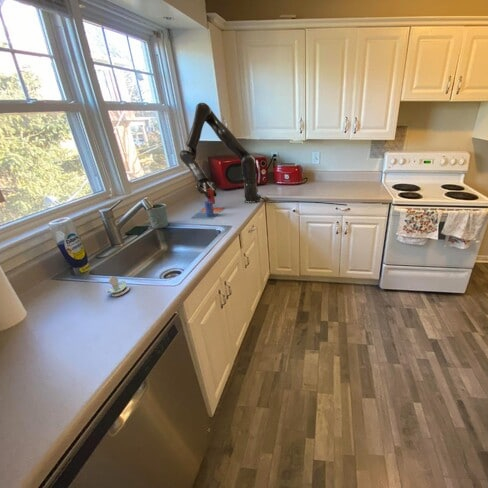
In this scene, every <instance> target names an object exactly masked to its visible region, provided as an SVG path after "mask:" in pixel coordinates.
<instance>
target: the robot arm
mask: <svg viewBox="0 0 488 488" xmlns="http://www.w3.org/2000/svg"><path fill="white" fill-rule="evenodd" d="M192 122H193V123H192V125H191V128H190V130H189V134H188V137H187V139H186V143H185V146H186V147H187V148H188V150H186V149H182V150H180V152H179V159H180V160H181V162H182V163H183V164H184V165H185V166H186V167H187V168H188V169H189V171H190V173H191V175H192V177H193V179H194V180H195V182H196V183H197V184H196V185H195V189H196V190H197V191H198V192H199V193H200V194H204V196H205V198H206V199H207V198H209V197H210V196H209V194H208V192H206V190H214V198H215V197H217V192H216V190H217V186H216V183H215V181H210V180H209V178H208V176H207V175H206V173H205V172H204V171H205V170H203V169H202V167H201V166H200V164H199V162H197V161H196V160H197V151H198V146H199V143H200V140H201V136H202V132H203V128H204V125H205V124H206V123H207V124H208V126H209V127H210V128H211V130H212V131H213V132H214V134H215V135H216V136H217V138H218V139H219V140H220V142H222V144H223V145H224V146H225V147H226V148H227V149H228V150H230V151H231V152H233V153H234V155H236V156H237V158H238V159H239V160H240V161H241V173H242V179H243V192H244V202H245V203H247V204H254V203H257V202H259V201H260V200H263V201H264V202H265V203H268V204H269V203H270V204H273V203H274V204H284V203H285V204H286V203H288V204H290V203H292V204H294V203H301V204H302V203H304V204H305V203H306V204H307V203H308V204H325V205H336V206H348V204H346V203H335V202H324V201H305V200H303V201H301V200H300V201H297V200H295V201H294V200H293V201H292V200H291V201H288V200H287V201H286V200H283V201H275V200H274V201H268V200H266V199H265V198H264V197H262V196H261V194H259V190H258V189H259V188H258V186H257V173H256V158H255V157H254V156H253V155H252V154H251V153H249V151H248V150H247V149H245V147H244V146H243V145H242V144H241V142H240V141H239V140H238V138H237V137H236V136H235V134H234V133H233V132H232V131H231V130H230V129H229V128H228V127H227V125H225V124H224V123H223V122H221V120H220V119H219V118H218V117H217V116H216V114H215V112H214V111H213V109H212V108H211V107H210V105H208V104H207V103H205V102H199V103H197V104H196V107H195V111H194V116H193V121H192Z"/></svg>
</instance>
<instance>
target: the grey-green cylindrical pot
mask: <svg viewBox="0 0 488 488" xmlns="http://www.w3.org/2000/svg"><path fill="white" fill-rule="evenodd" d="M152 204H153V208H152V209H151V210H149V211H147V210H146V212H147V215H148V219H149V221H150V226H151V227H152V228H153V229H163V228H166V227H168V226H169V221H168V211H167V205H166V203H152Z"/></svg>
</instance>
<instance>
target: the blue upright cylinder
mask: <svg viewBox="0 0 488 488" xmlns="http://www.w3.org/2000/svg"><path fill="white" fill-rule="evenodd" d="M213 207H214V204H212V201H208V200H207V201H204V208H205V209H206V211H205V213H206V215H207V217H213V216H214V213H215V212H214V211H213ZM214 217H215V216H214ZM214 217H213V218H214Z"/></svg>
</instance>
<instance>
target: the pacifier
mask: <svg viewBox="0 0 488 488" xmlns="http://www.w3.org/2000/svg"><path fill="white" fill-rule="evenodd" d="M108 283H109V284H110V286H111V287H112V288H111V289H107V290H105V291H104V292H105V293H107V294H111V296H112V297H119V296H122V295H124V294H125V293H127V292H128V291H129V290H130V289H131V288H130V286H129V285H127V281H125V280H121V281H119V279H118V277H116V276H114V275H113V276H111V277H109V279H108Z"/></svg>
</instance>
